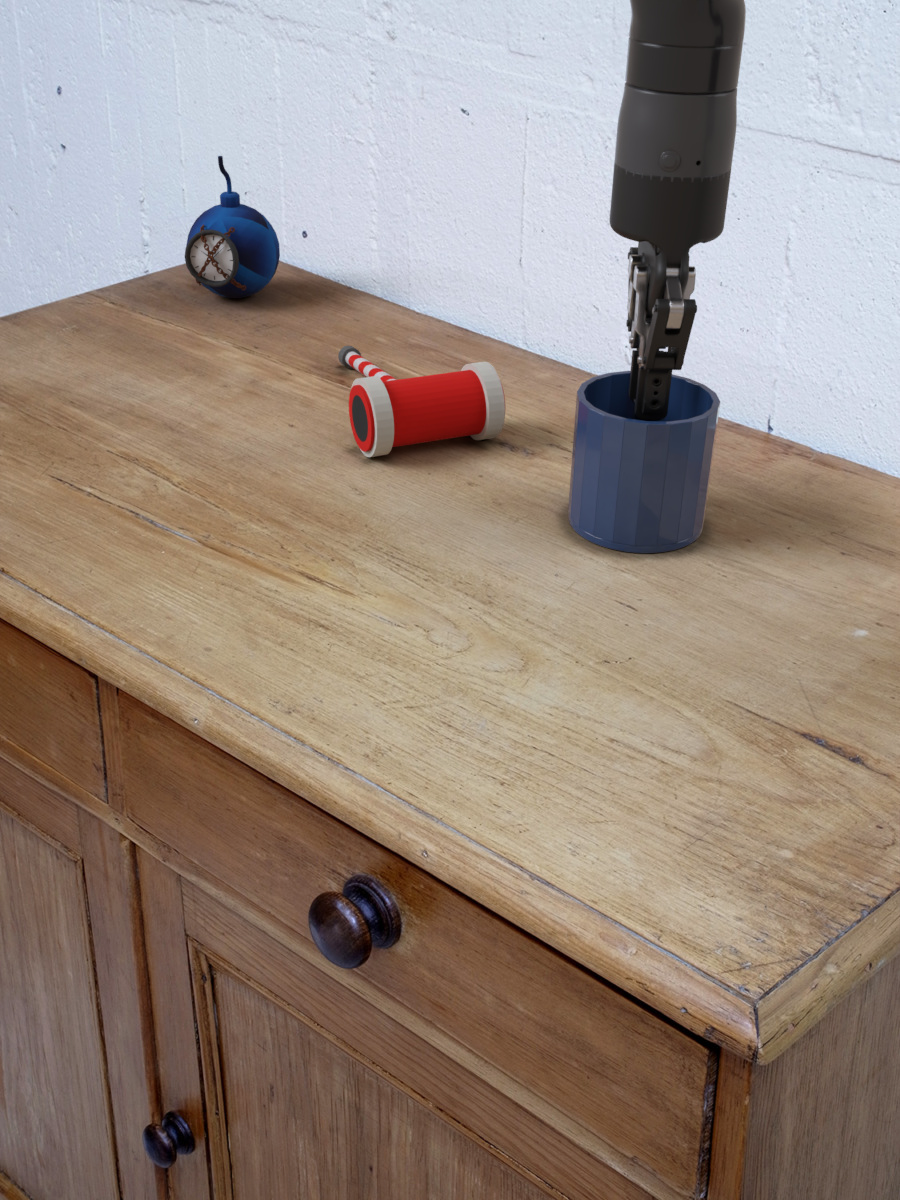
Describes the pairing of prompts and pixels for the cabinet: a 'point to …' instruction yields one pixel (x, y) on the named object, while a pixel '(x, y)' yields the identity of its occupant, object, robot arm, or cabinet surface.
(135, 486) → the cabinet surface
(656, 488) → the cup
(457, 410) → the toy hammer
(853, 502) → the cabinet surface
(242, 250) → the bomb
